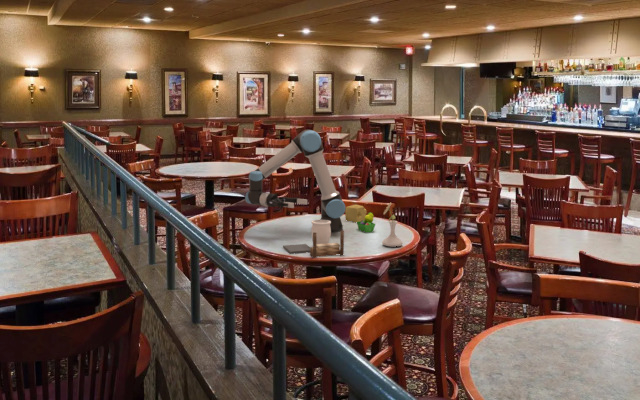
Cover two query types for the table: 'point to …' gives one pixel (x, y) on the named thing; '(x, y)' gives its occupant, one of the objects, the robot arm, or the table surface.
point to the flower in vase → (392, 238)
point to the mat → (297, 248)
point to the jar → (321, 231)
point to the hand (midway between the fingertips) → (300, 203)
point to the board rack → (327, 247)
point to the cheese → (355, 213)
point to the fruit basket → (367, 223)
